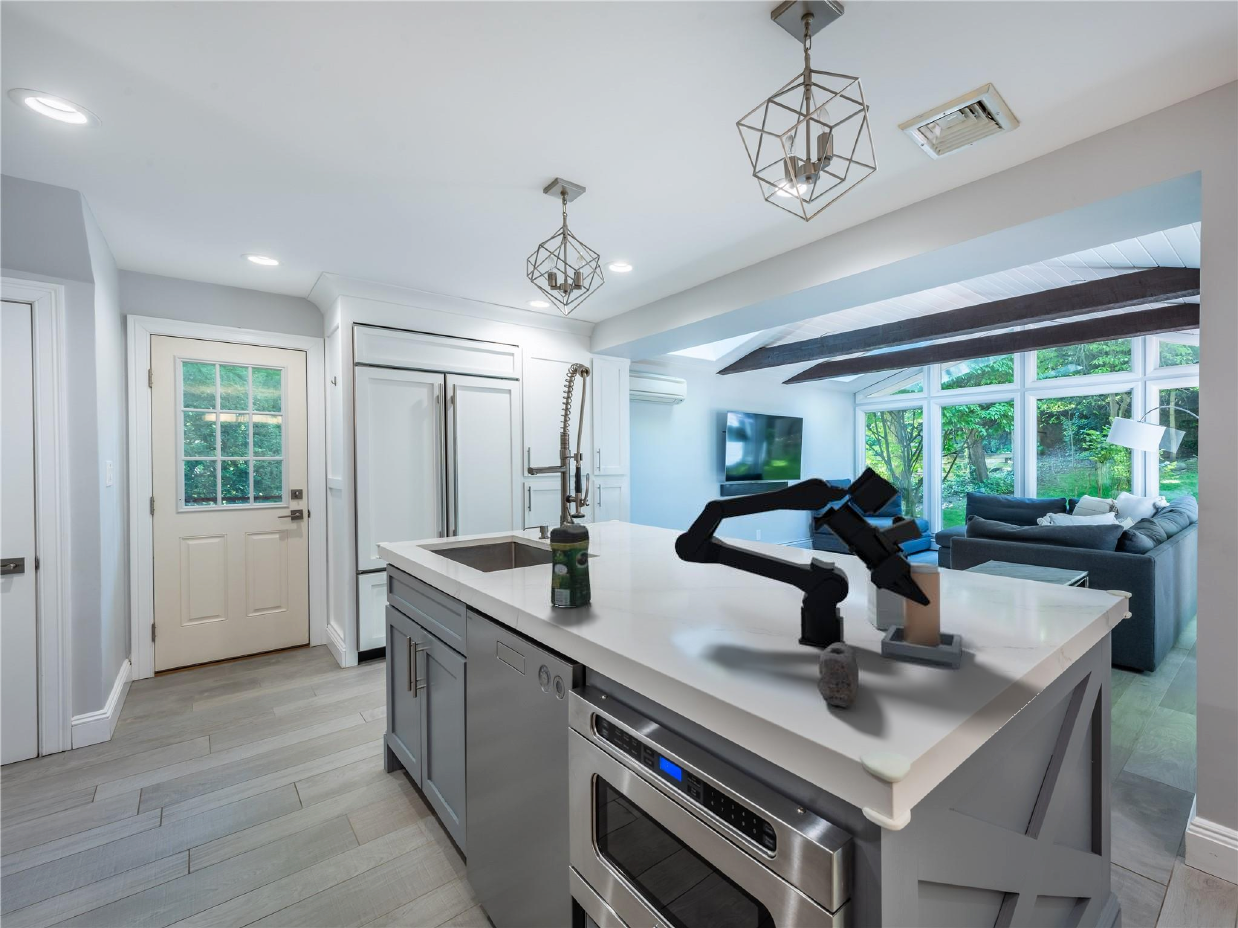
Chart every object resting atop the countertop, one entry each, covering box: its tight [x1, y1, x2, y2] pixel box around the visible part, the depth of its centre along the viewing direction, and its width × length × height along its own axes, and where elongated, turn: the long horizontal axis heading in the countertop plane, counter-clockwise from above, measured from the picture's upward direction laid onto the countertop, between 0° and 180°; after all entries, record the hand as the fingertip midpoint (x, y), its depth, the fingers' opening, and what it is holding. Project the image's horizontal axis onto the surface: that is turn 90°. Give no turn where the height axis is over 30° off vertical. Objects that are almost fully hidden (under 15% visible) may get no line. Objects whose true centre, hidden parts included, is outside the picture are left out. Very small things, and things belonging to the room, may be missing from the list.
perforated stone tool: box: [816, 642, 860, 708], centre depth 79 cm, size 15×5×7 cm, turn 154°
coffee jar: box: [549, 524, 592, 607], centre depth 132 cm, size 10×8×19 cm
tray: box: [880, 625, 963, 670], centre depth 95 cm, size 11×11×2 cm
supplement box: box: [866, 568, 904, 631], centre depth 112 cm, size 7×7×13 cm
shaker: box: [903, 562, 941, 647], centre depth 95 cm, size 6×6×13 cm
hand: (926, 600), depth 95 cm, fingers closed on shaker, 5 cm apart
